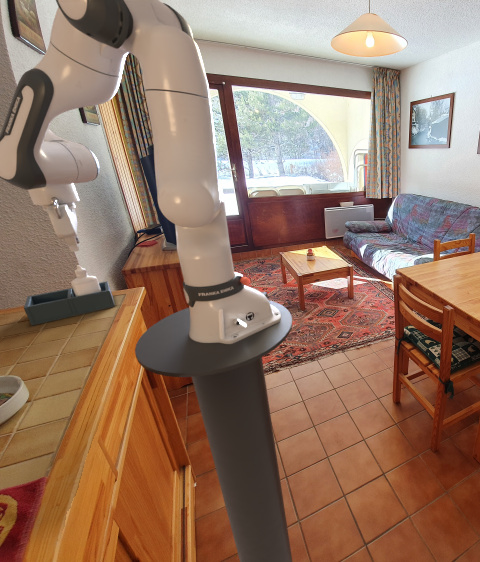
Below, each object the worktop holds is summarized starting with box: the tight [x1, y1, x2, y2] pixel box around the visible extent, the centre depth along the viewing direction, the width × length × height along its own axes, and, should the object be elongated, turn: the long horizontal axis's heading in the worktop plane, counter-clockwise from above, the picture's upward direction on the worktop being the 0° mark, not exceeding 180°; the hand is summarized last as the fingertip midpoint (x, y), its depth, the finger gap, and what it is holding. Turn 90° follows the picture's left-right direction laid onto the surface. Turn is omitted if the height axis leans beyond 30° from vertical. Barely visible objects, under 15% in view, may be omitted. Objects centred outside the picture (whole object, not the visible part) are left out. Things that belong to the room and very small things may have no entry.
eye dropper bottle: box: [70, 264, 101, 296], centre depth 90 cm, size 4×6×12 cm
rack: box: [23, 281, 116, 326], centre depth 89 cm, size 17×9×5 cm, turn 131°
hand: (75, 247), depth 86 cm, fingers open, 8 cm apart
